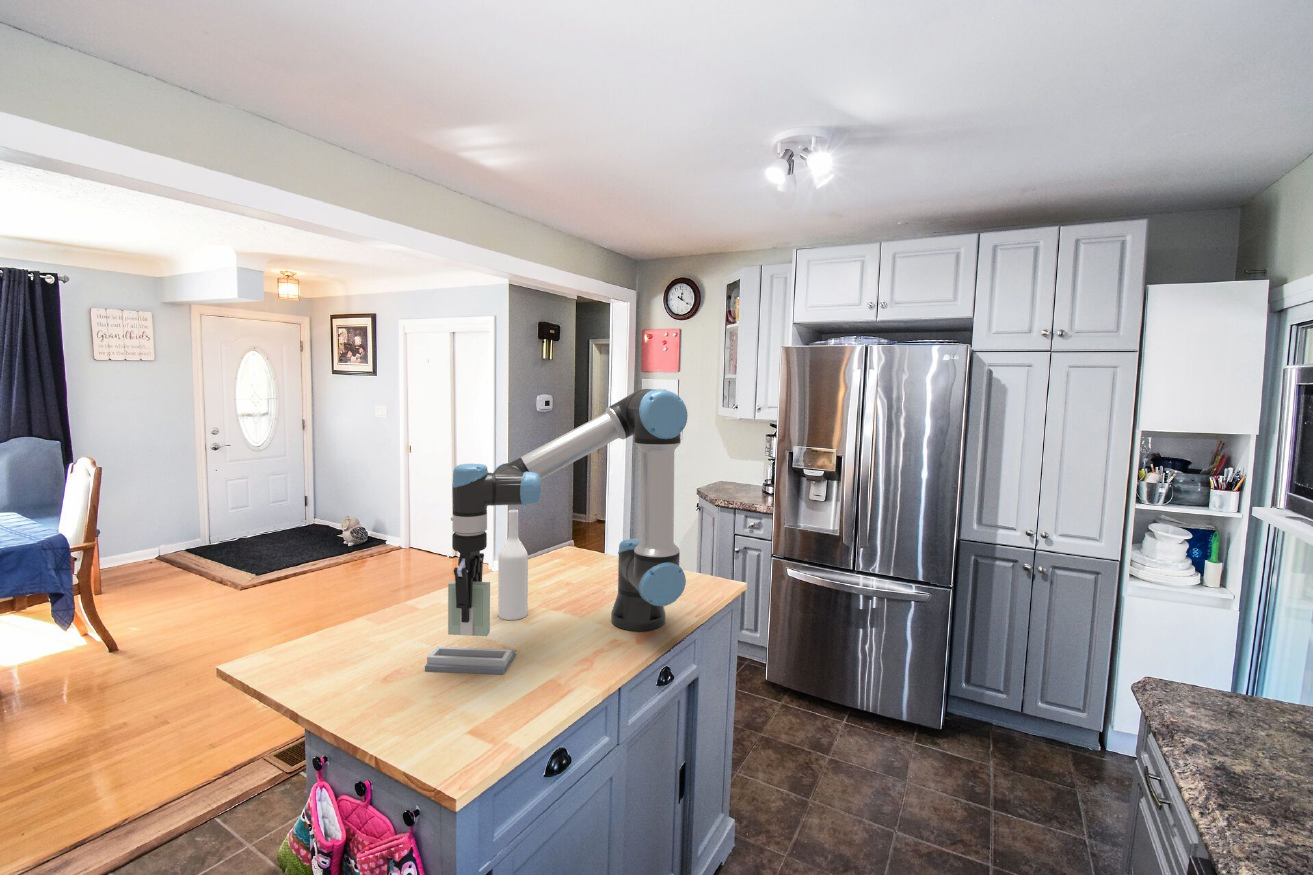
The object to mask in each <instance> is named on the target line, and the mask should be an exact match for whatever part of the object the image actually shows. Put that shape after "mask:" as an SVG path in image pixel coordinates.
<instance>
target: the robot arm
mask: <svg viewBox="0 0 1313 875" xmlns="http://www.w3.org/2000/svg"><path fill="white" fill-rule="evenodd" d="M688 414H689V413H688V409H687V405H686V404H685V402H684V400H683V399H682V398H681V397H680V396H679V395H678V394H676V393H675V392H674V391H669V390H668V389H663V388H657V389H654V388H653V389H652V388H650V389H649V388H642V389H639V390H637V391H634V392H632V393H630V394H629V395H627V396H625V397H623V398H622V399H620V400H618V401H617V402H615V403H613V404H612V405H609V406H608V407H606V409H605V412H604V413H602V414H600V415H599V416H597V417H595V418H593V419H591V420H589V421H587V422H585V423H583V424H581V425H580V426H577V427H575V428H574V429H572V430H570V431H568V432H566V433H564V434H562V435H560V436H559V437H557V438H554V439H553V440H551V441H549V442H547V443H545V444H543V445H541V446H539V447H536V449H533V450H531V451H530V452H528V453H526V454H524V455H522V456H520V457H519V458H516V459H514V460H513V461H510V462H505V463H501V464H499V465H498V466H496V468H495V469H494V470H493V472H489V471H488V470H489V469H488V466H487V465H485V464H482V463H462V464H458V465H456V466H454V467H453V471H452V472H453V473H452V492H451V493H452V494H451V495H452V497H451V498H452V516H451V517H450V521H452V532H453V533H452V543H451V544H452V545H451V546H452V550H454V551H455V552H458V553H459V558H458V561H457V565H458V567H454V568H453V573H454V574H453V575H454V581H455V587H456V608H460V635H459V636H468V635H471V636H472V635H473V607H472V587H473V582H483V570H484V569H483V568H484V558H485V553H484V552H483V553H482V551H483V550H486V548H487V544H488V542H487V540H488V538H487V536H488V534H487V532H486V531H487V530H488V507H489V506H492V507H493V506H520V505H521V506H522V505H523V506H527V505H533V504H534V505H535V504H538V503H539V501H540V500H541V492H542V488H541V486H542V485H541V483H542V482H541V480H542V479H544V478H547V477H548V476H550V475H552V474H554V473H556V472H558V471H560V470H562V469H563V468H565V467H567V466H569V465H570V464H573V463H575V462H577V461H578V460H581V459H582V458H584V457H586V456H587V455H590V454H591V453H593V452H595V451H597V450H599V449H601V448H602V447H605V446H607V445H608V444H610V443H612V442H615V440H618V439H620V440H625V439H627V438H629V437H632V436H634V440H633V441H634V442H633V443H634V445H635V446H636V447H637V448H638V449H639V452H640V453H639V454H640V457H639V458H640V460H639V461H640V463H639V464H640V465H639V466H640V469H639V470H640V476H639V477H640V478H639V479H640V480H639V481H640V482H639V484H640V485H639V486H640V488H639V492H640V493H639V496H640V497H639V503H640V504H639V506H640V507H639V508H640V509H639V512H640V514H639V519H640V520H639V525H640V526H639V531H640V532H639V535H640V536H639V537H638V538H630V539H628V538H627V539H624V540H621V541H620V542H619V546H618V551H617V555H618V564H617V565H618V566H617V567H618V568H617V569H618V570H617V571H618V575H617V579H618V580H617V596H616V598H615V600H614V604H613V606H612V610H611V617H610V619H611V620H610V622H611V623H612V624H613V626H615V627H617V628H620V629H622V630H626V631H633V632H635V631H636V632H644V631H651V630H655V629H659V628H661V627H662V626H664V624H665V623H666V611H665V608H664V607H666V606H668V605H669V606H670V605H672V604H673V603H675V602H676V601H677V600H678V598H680V597H681V596H682V595H683V592H684V590H685V588H686V584H687V583H686V582H687V578H686V575H685V572H684V569H683V568H682V567H681V566H680V548H679V547H678V545H676V543H675V540H674V539H675V538H674V535H675V532H674V529H675V526H674V525H675V524H674V522H675V451H676V449H677V448H678V447H679V446H680V445H681V439H682V438H681V436H682V435H681V433H682V432H683V430H684V429H685V428H686V426H687V423H688V419H689V418H688V416H689V415H688ZM471 636H470V637H471Z"/></svg>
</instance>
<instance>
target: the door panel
mask: <svg viewBox="0 0 1313 875" xmlns="http://www.w3.org/2000/svg"><path fill="white" fill-rule="evenodd" d="M447 585H448V586H447V590H448V591H447V592H448V594H447V597H448V598H447V608H448V609H447V612H448V613H447V634H448V635H450V636H451V635H453V636H461V635H460V608H456V587H455V580H451V581H450V582H448V584H447ZM472 607H473V635H472V636H475V637H488V635H490V633H491V582H490V581H482V582H473V587H472ZM467 636H470V637H471V635H467Z"/></svg>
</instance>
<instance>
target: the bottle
mask: <svg viewBox="0 0 1313 875" xmlns="http://www.w3.org/2000/svg"><path fill="white" fill-rule="evenodd" d="M528 554H529V553H528V551H527V549H526V548H525V546H524V544H523V543H522V541H521V540H520V538H519V510H518V509H510V510H508V536H507V539H506V541H505V543H504V545H503V546H502V548H501V549H500V551H499V553H498V560H497V561H498V564H497V565H498V568H497V569H498V571H497V572H498V580H497V582H498V592H497V593H498V594H497V595H498V597H497V598H498V600H497V601H498V604H497V605H498V606H497V607H498V608H497V609H498V610H497V611H498V617H499V619H501V620H506V621H516V620H521V619H523V618H525V617H527V616H528V612H529V610H528V609H529V607H528V606H529V603H528V601H529V600H528V599H529V589H528V588H529V577H528V576H529V556H528Z"/></svg>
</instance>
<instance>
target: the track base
mask: <svg viewBox="0 0 1313 875" xmlns="http://www.w3.org/2000/svg"><path fill="white" fill-rule="evenodd" d="M516 651H517V650H516V649H507V648H506V649H505V648H504V649H502V648H479V647H476V648H475V647H459V646H458V647H456V646H455V647H454V646H453V647H452V646H436V647H435V648H434V649H433V650H432V651H431V653H429V655H427V656H426V664H425V665H424V671H425V672H436V673H437V672H439V673H460V674H462V673H463V674H483V675H484V674H486V675H504V674H505V673H506V671H507V669H508V668H509V666H510V664H511V662H512V661H513V660H514V658H515V657H516V655H517V653H516Z"/></svg>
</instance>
